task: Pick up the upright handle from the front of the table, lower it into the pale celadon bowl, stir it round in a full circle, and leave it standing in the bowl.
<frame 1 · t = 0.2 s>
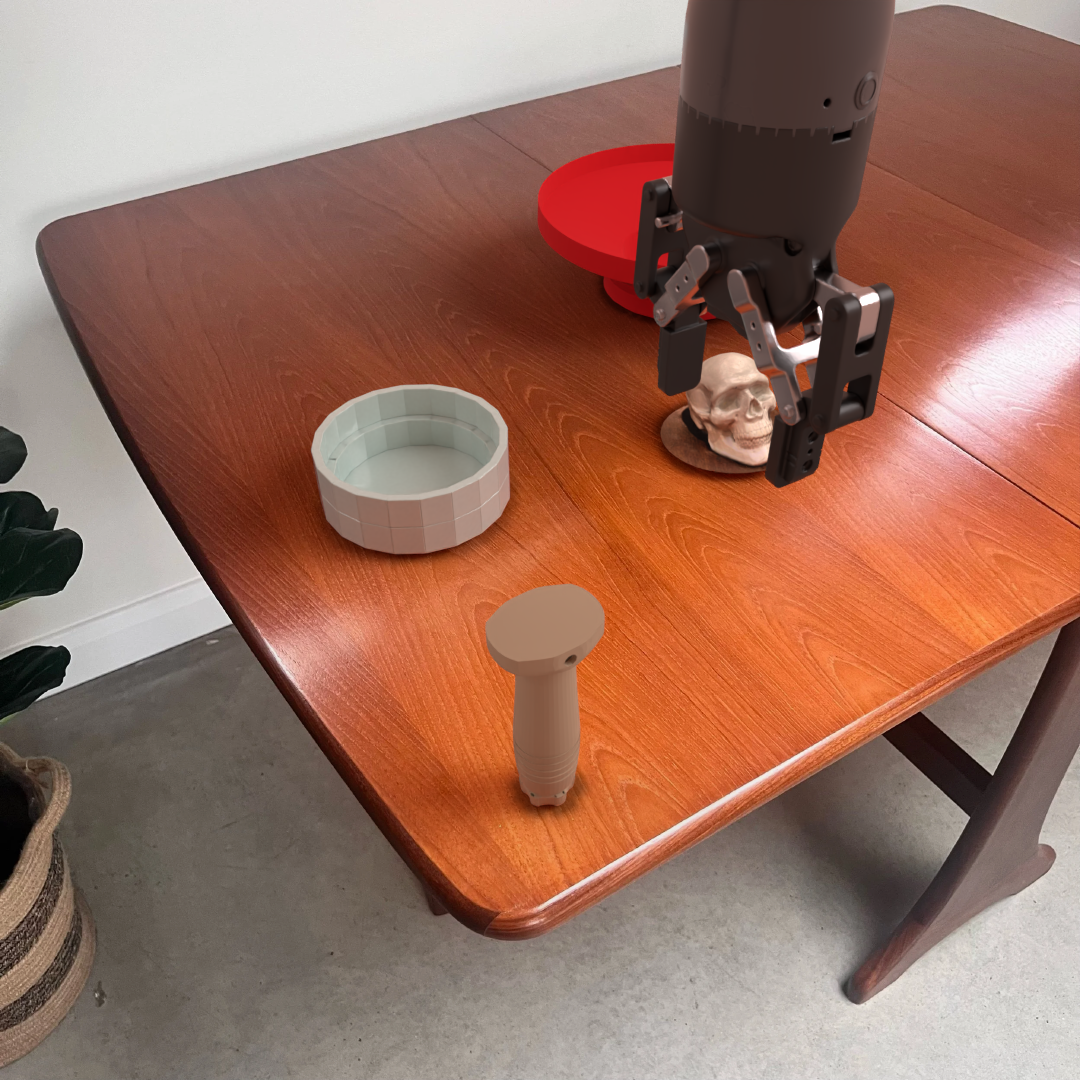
hand: (730, 432, 50), 25 cm above the table, tool pointing down, fingers open, 8 cm apart
handle: (547, 790, 65), on the table
mixing bowl: (417, 496, 86), on the table
skull: (728, 440, 92), on the table
bowl: (679, 287, 113), on the table
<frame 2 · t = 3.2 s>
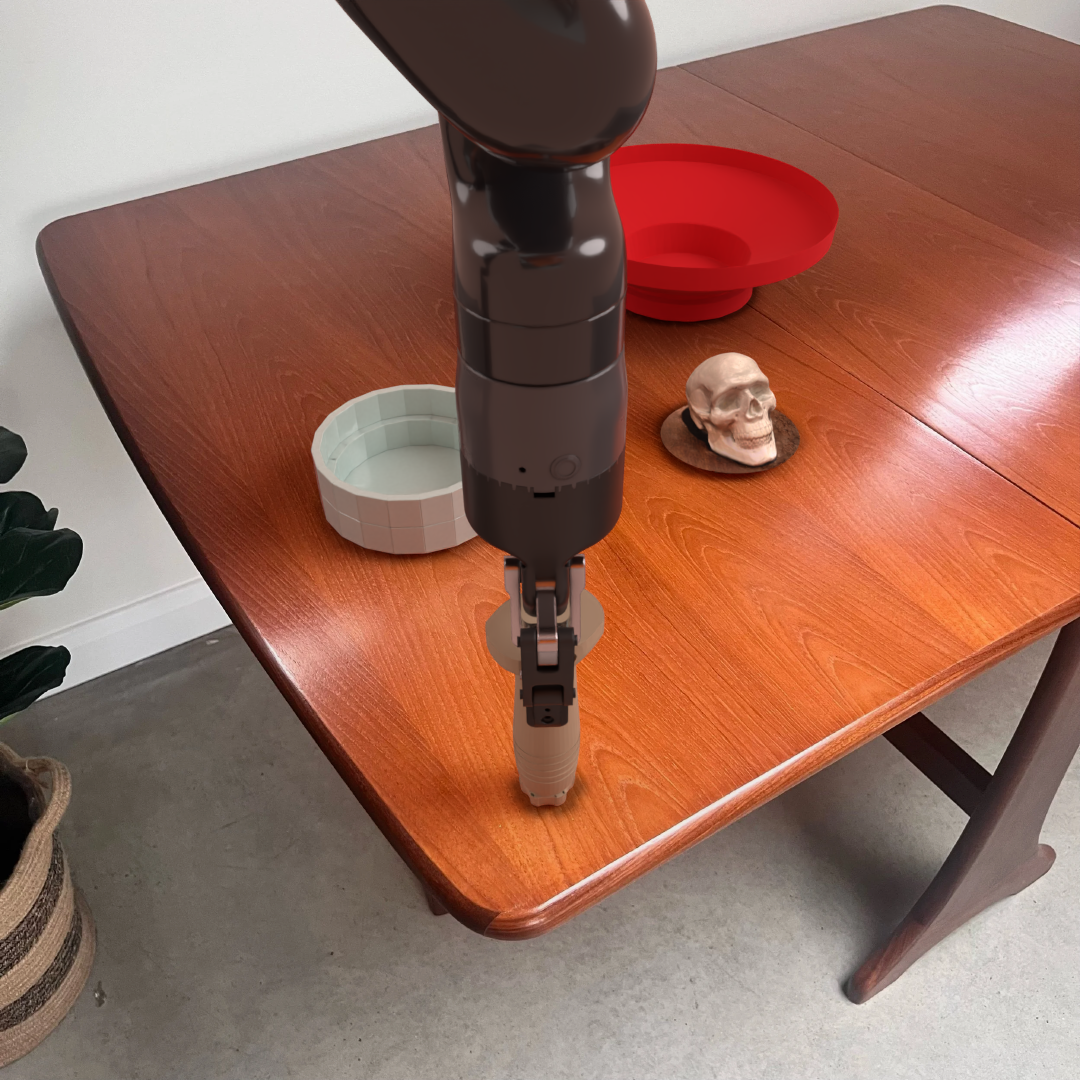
hand: (545, 677, 58), 11 cm above the table, tool pointing down, fingers closed on handle, 5 cm apart
handle: (547, 790, 65), on the table, touching gripper
everything else where it was.
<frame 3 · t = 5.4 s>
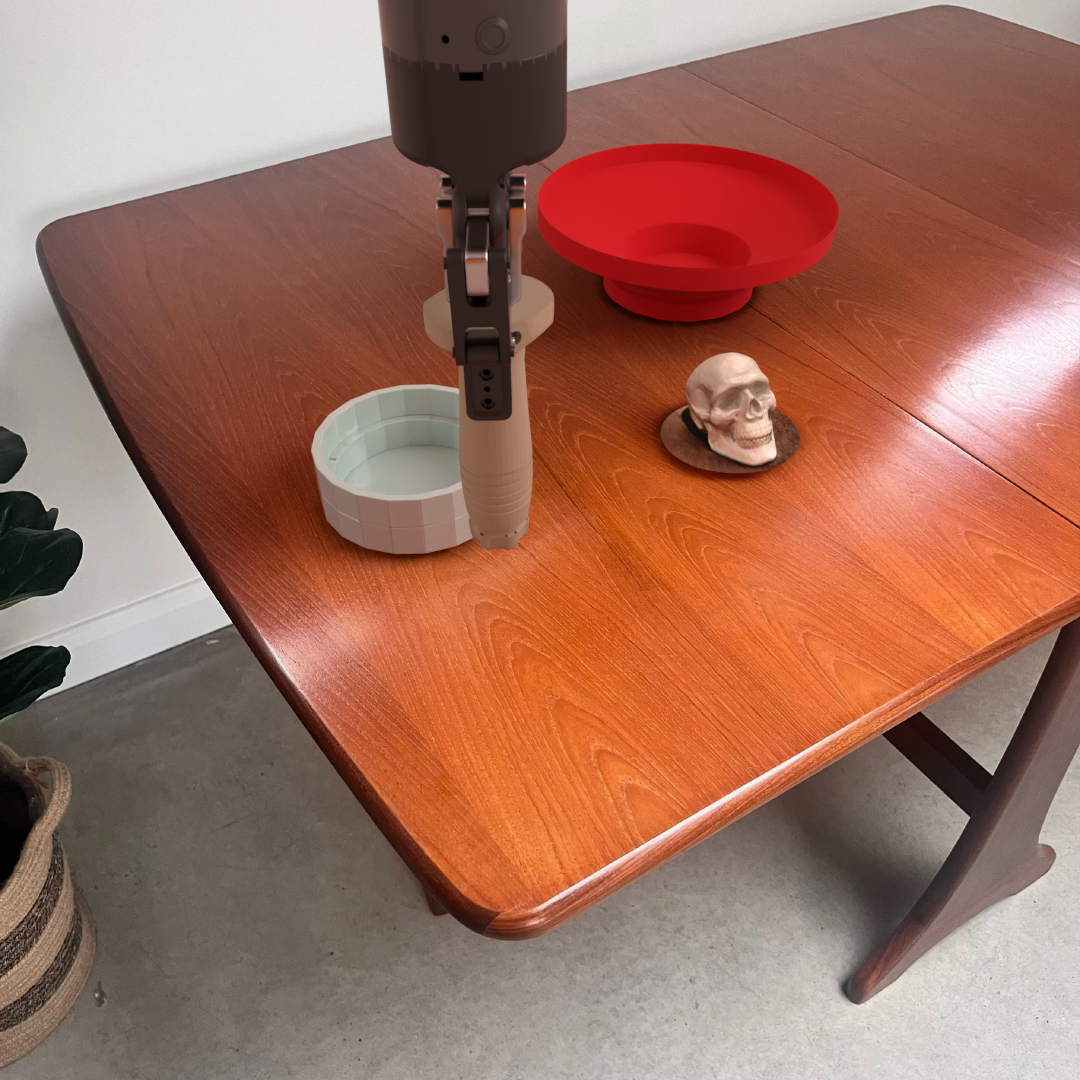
hand: (491, 380, 53), 25 cm above the table, tool pointing down, fingers closed on handle, 5 cm apart
handle: (499, 538, 60), point 15 cm above the table, touching gripper
everything else where it was.
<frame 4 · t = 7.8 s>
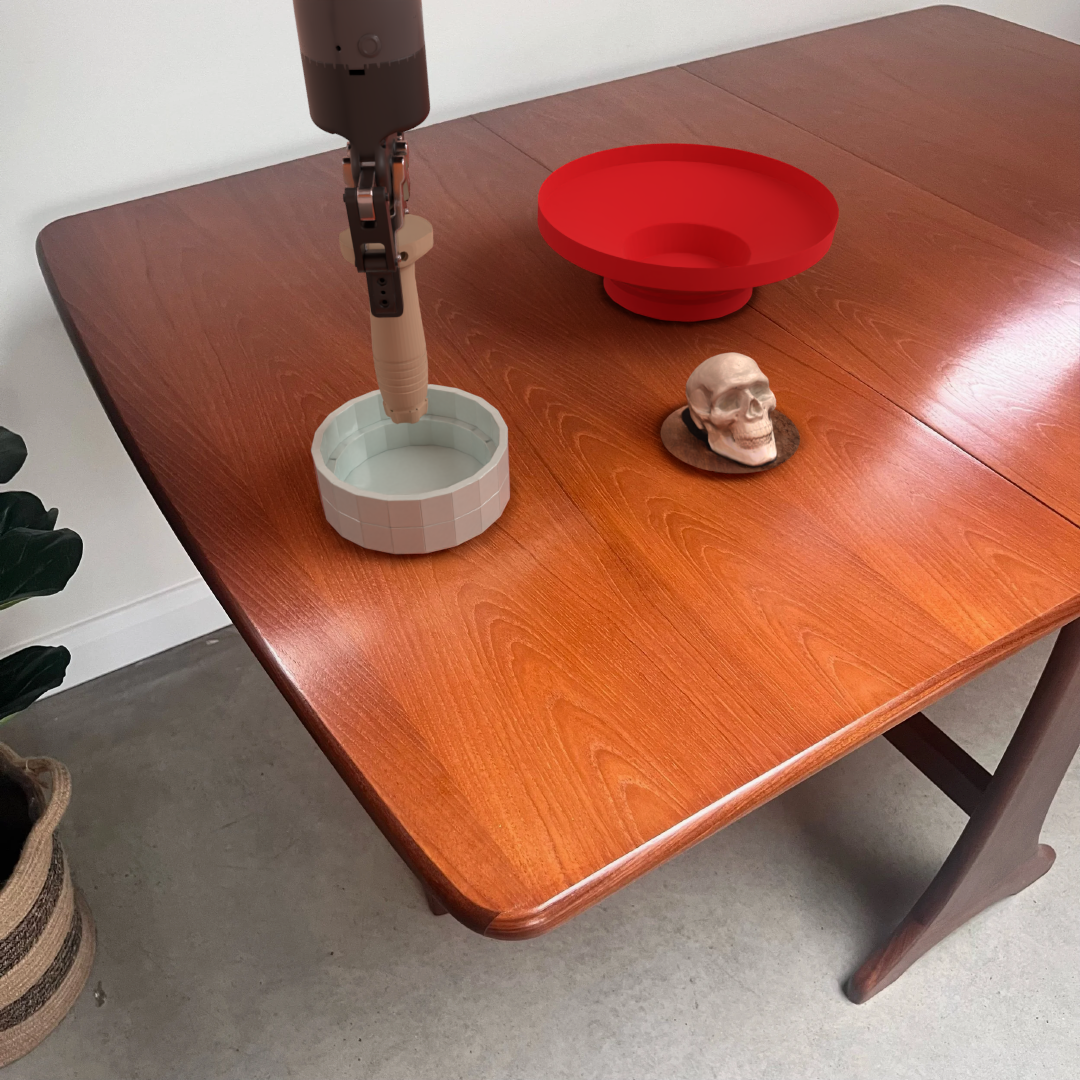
hand: (391, 292, 74), 19 cm above the table, tool pointing down, fingers closed on handle, 5 cm apart
handle: (407, 417, 81), point 8 cm above the table, touching gripper
everything else where it was.
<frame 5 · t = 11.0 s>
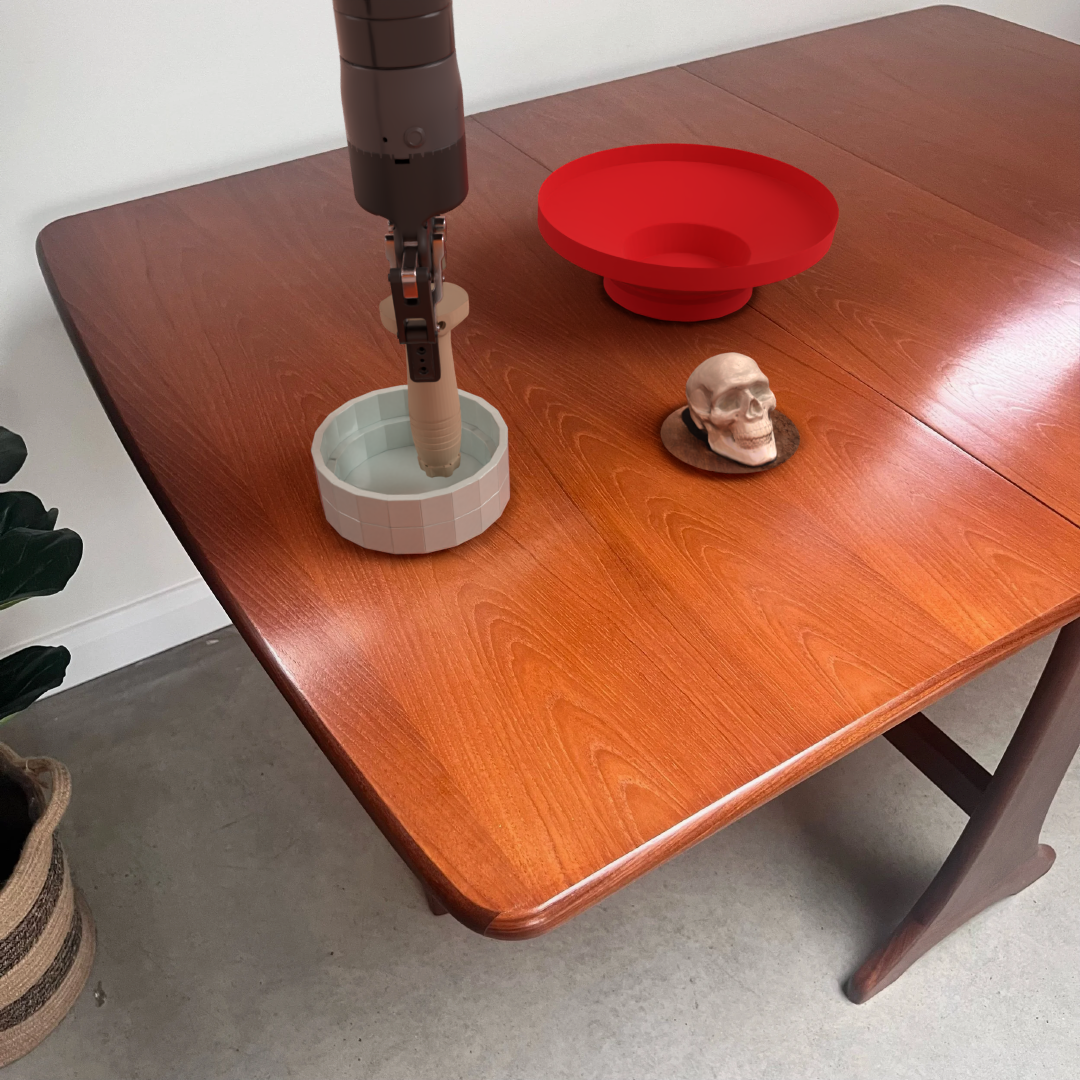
hand: (428, 356, 77), 14 cm above the table, tool pointing down, fingers closed on handle, 5 cm apart
handle: (440, 470, 84), point 3 cm above the table, touching gripper
everything else where it was.
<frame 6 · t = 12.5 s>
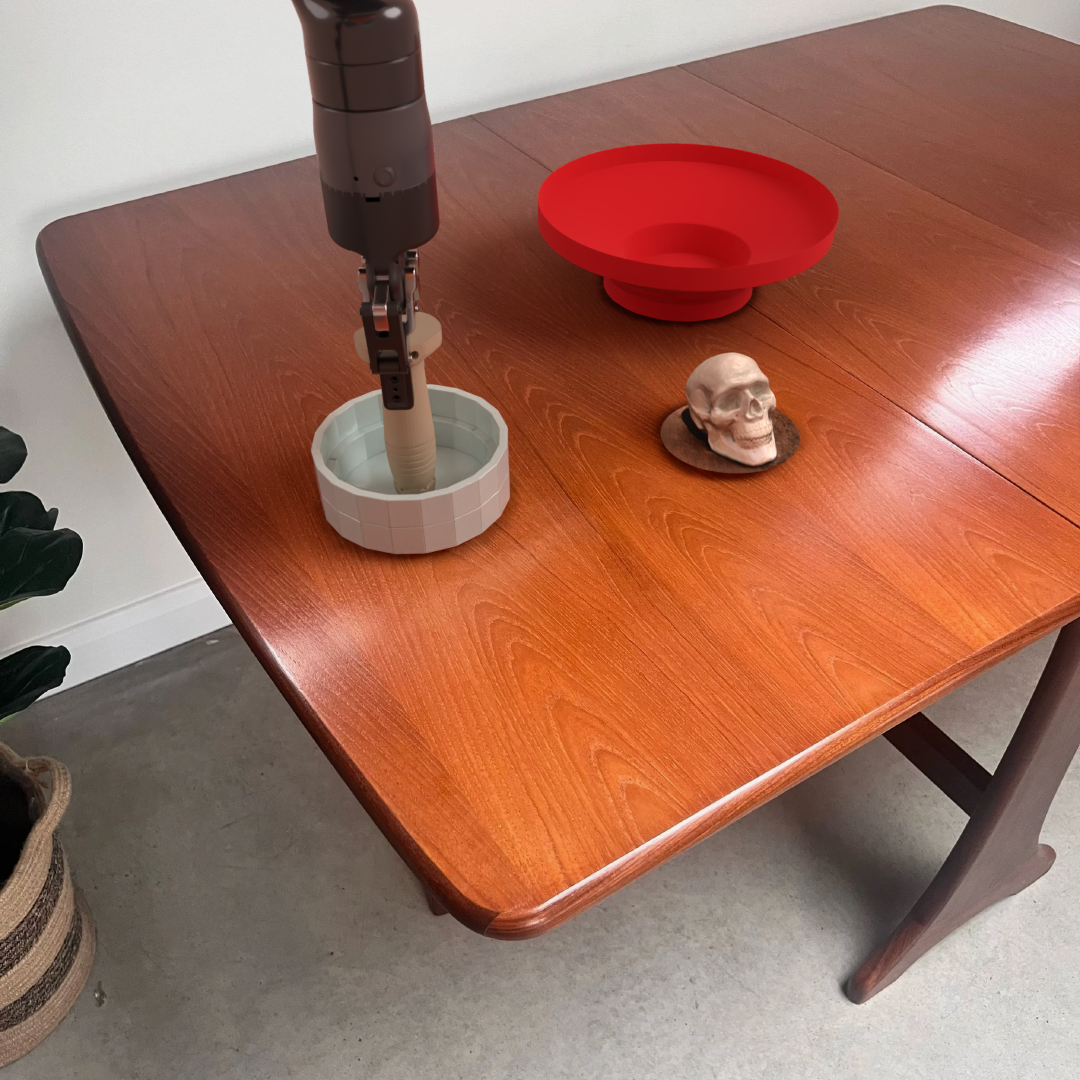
hand: (402, 383, 79), 11 cm above the table, tool pointing down, fingers closed on handle, 5 cm apart
handle: (416, 493, 86), resting on mixing bowl, touching gripper
everything else where it was.
when the fingers open (11 cm above the table, at t = 12.8 s): handle stays where it is, resting on mixing bowl.
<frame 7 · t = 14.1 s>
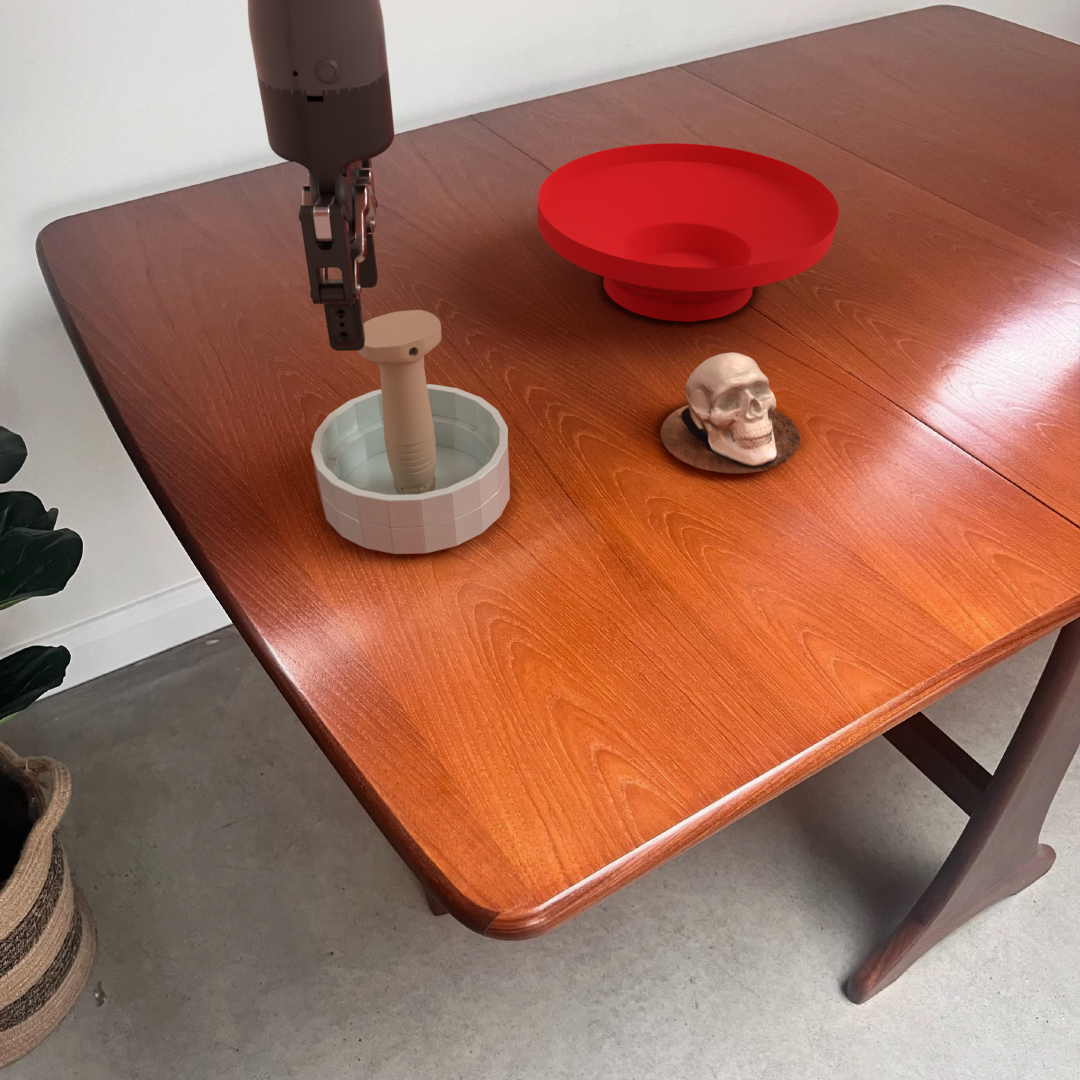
hand: (355, 315, 71), 19 cm above the table, tool pointing down, fingers open, 8 cm apart
handle: (416, 493, 86), resting on mixing bowl
everything else where it was.
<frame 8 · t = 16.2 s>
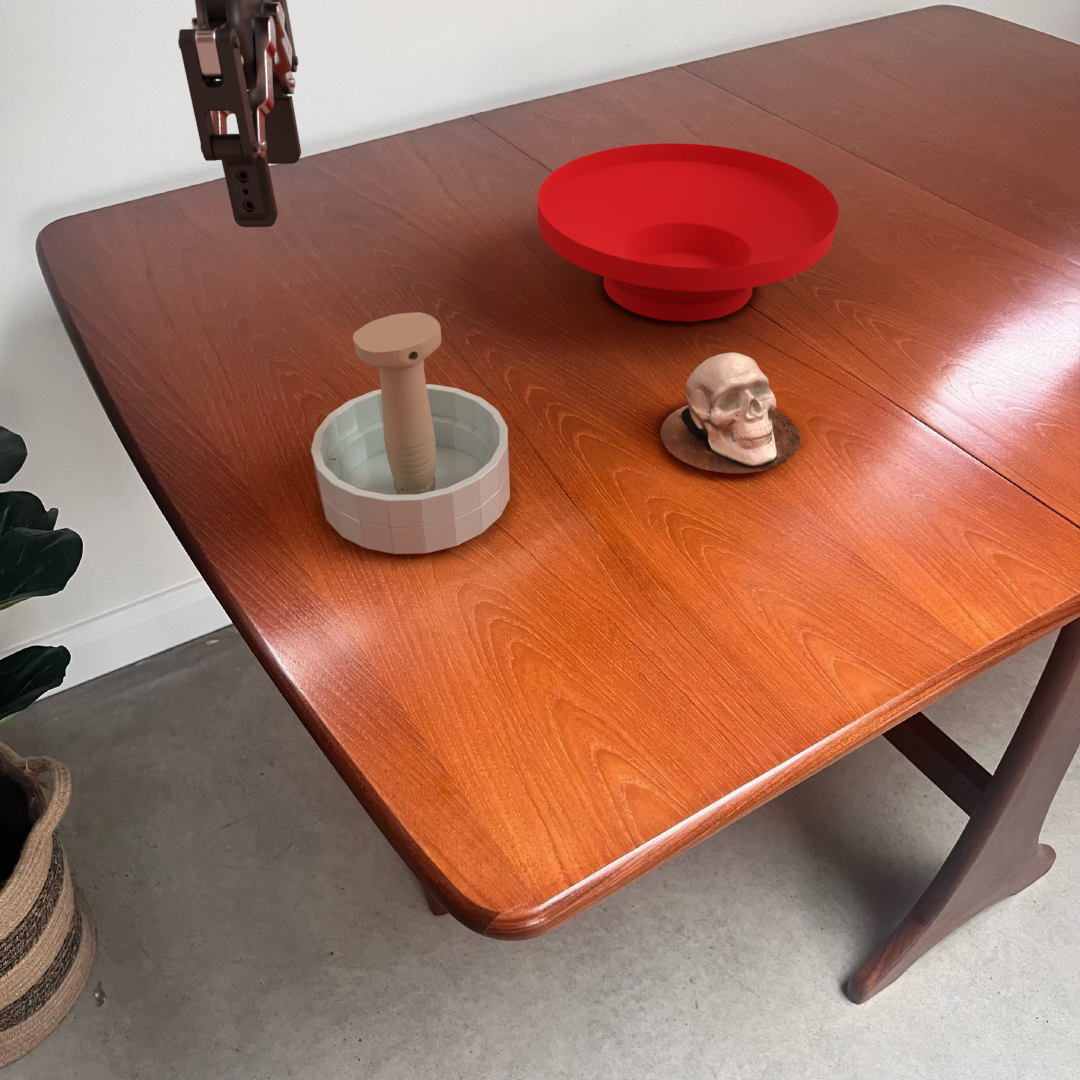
hand: (271, 191, 59), 30 cm above the table, tool pointing down, fingers open, 8 cm apart
nothing on the table moved.
at the end: handle inside the target area in the mixing bowl (0.1 cm from its centre), point 0.4 cm above the mixing bowl's base; handle tilted 0°; the gripper is holding nothing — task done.
